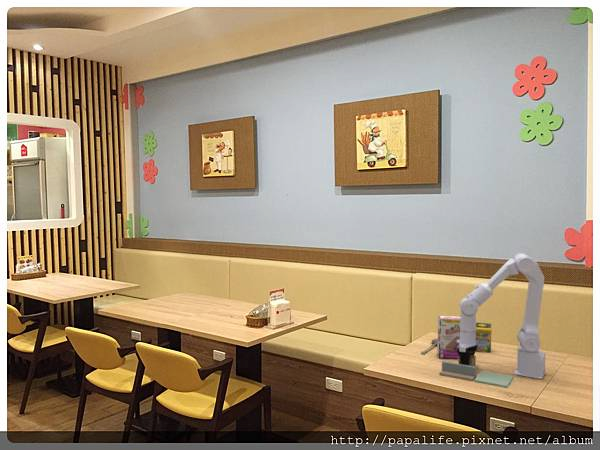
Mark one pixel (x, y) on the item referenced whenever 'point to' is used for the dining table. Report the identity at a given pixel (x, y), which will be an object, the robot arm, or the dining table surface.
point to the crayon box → (483, 337)
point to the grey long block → (458, 371)
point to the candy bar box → (448, 337)
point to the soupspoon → (430, 346)
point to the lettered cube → (471, 362)
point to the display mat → (494, 379)
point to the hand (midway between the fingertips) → (467, 365)
